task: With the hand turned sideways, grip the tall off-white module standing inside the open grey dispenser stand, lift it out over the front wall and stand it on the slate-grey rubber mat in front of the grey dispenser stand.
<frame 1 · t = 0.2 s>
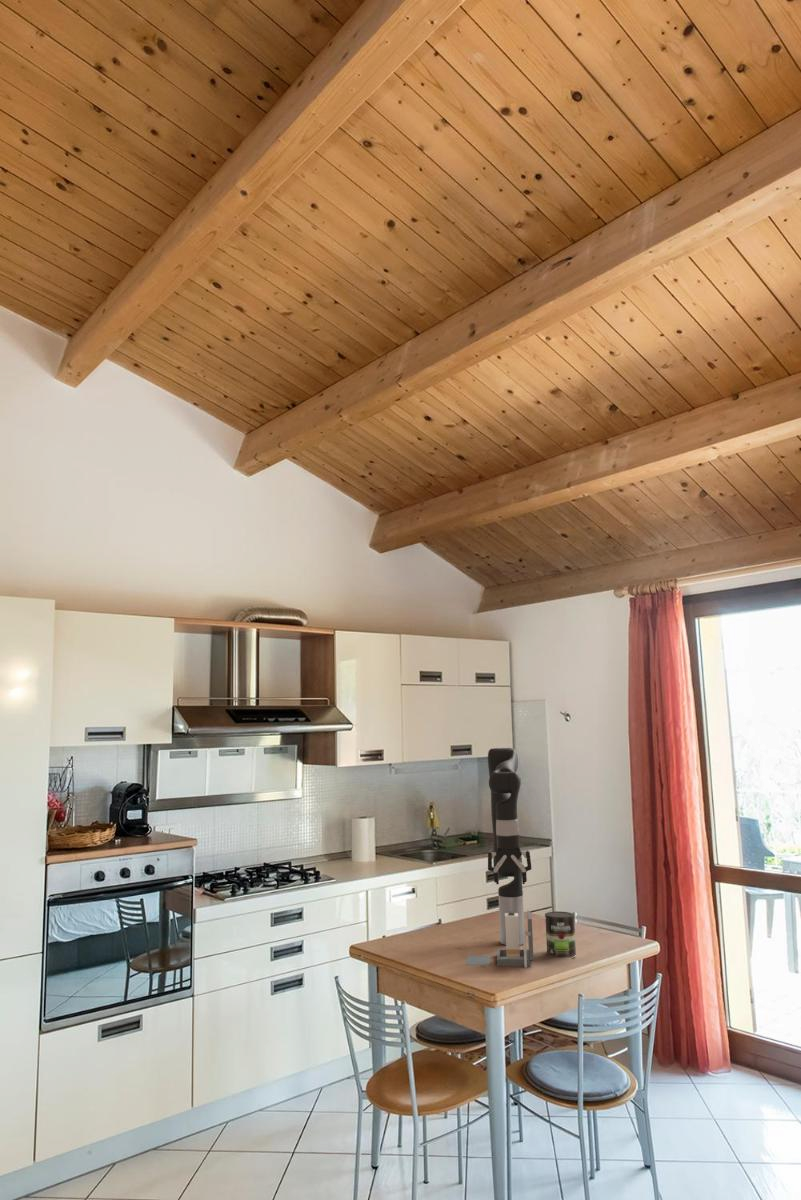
hand: (510, 883, 269), 29 cm above the table, tool pointing down, fingers open, 8 cm apart
coffee can: (561, 956, 288), on the table
mat: (478, 963, 281), on the table
grey dispenser stand: (513, 963, 280), on the table
module: (513, 960, 280), point 1 cm above the table, touching grey dispenser stand
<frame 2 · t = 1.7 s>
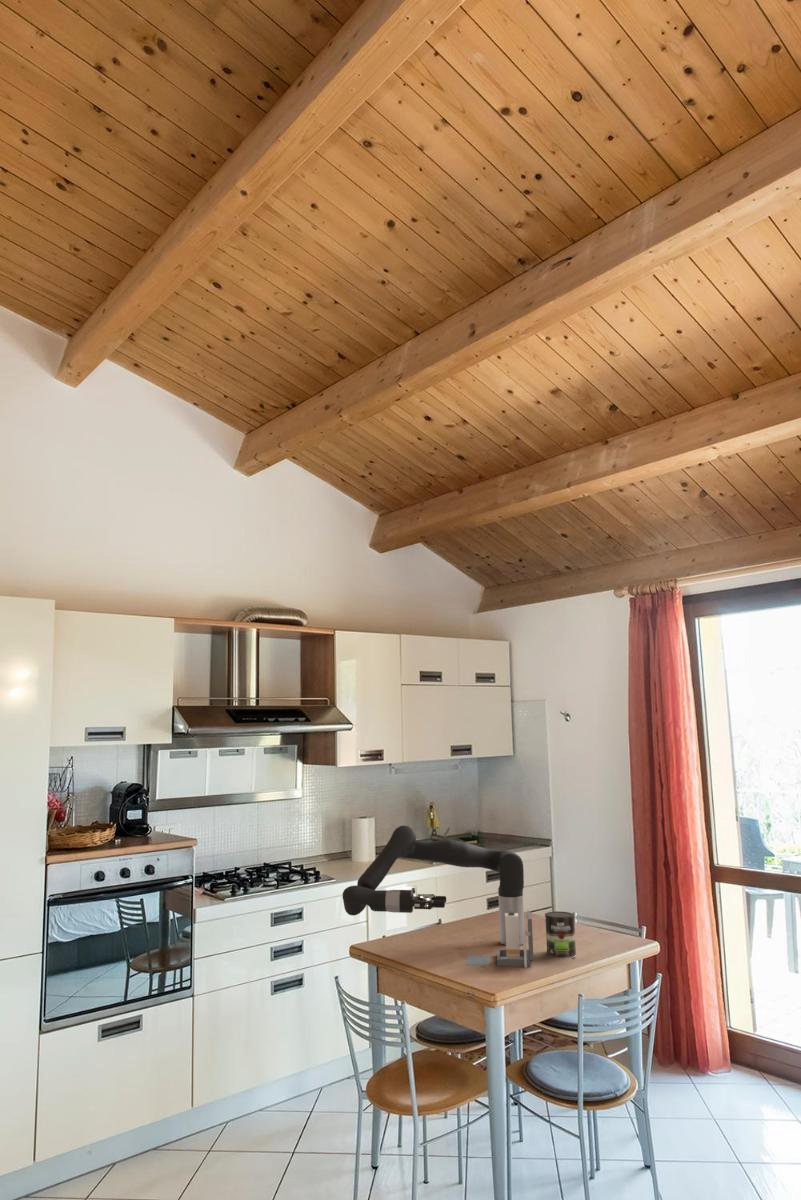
hand: (445, 901, 286), 20 cm above the table, tool horizontal, fingers open, 8 cm apart
nothing on the table moved.
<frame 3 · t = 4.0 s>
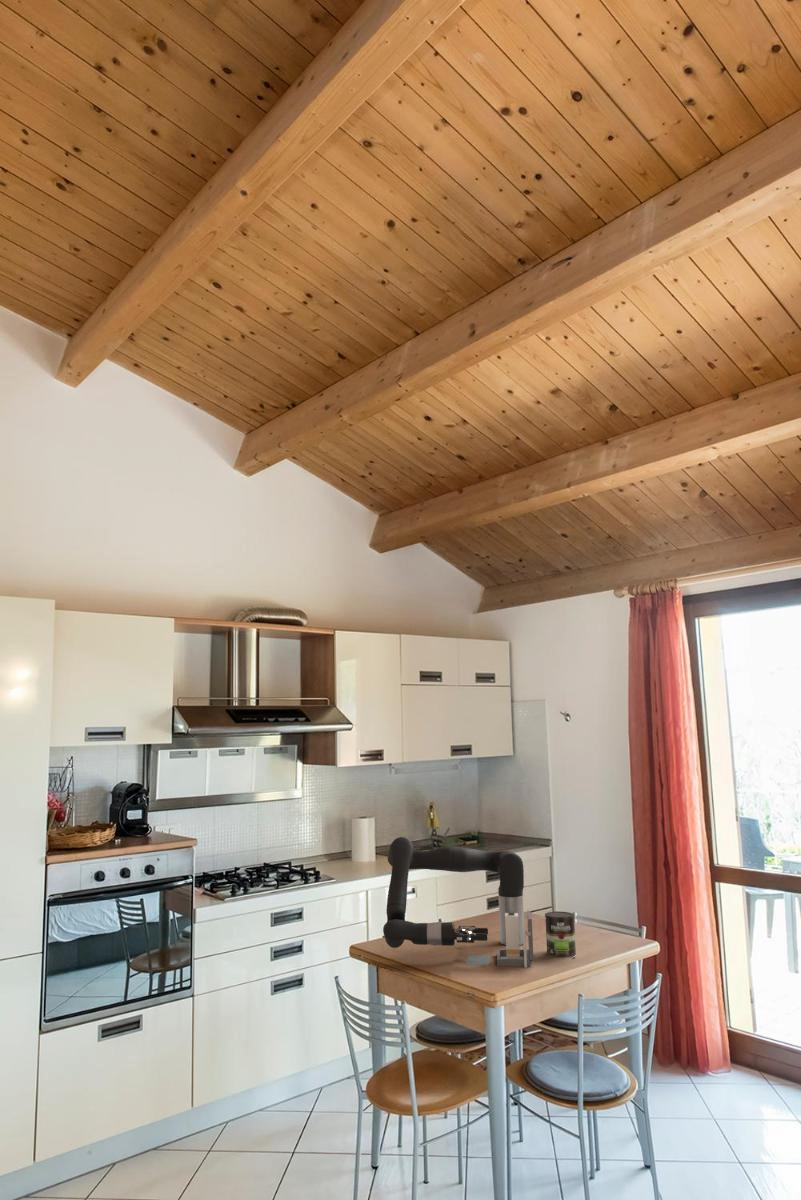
hand: (487, 934, 282), 10 cm above the table, tool horizontal, fingers open, 8 cm apart
nothing on the table moved.
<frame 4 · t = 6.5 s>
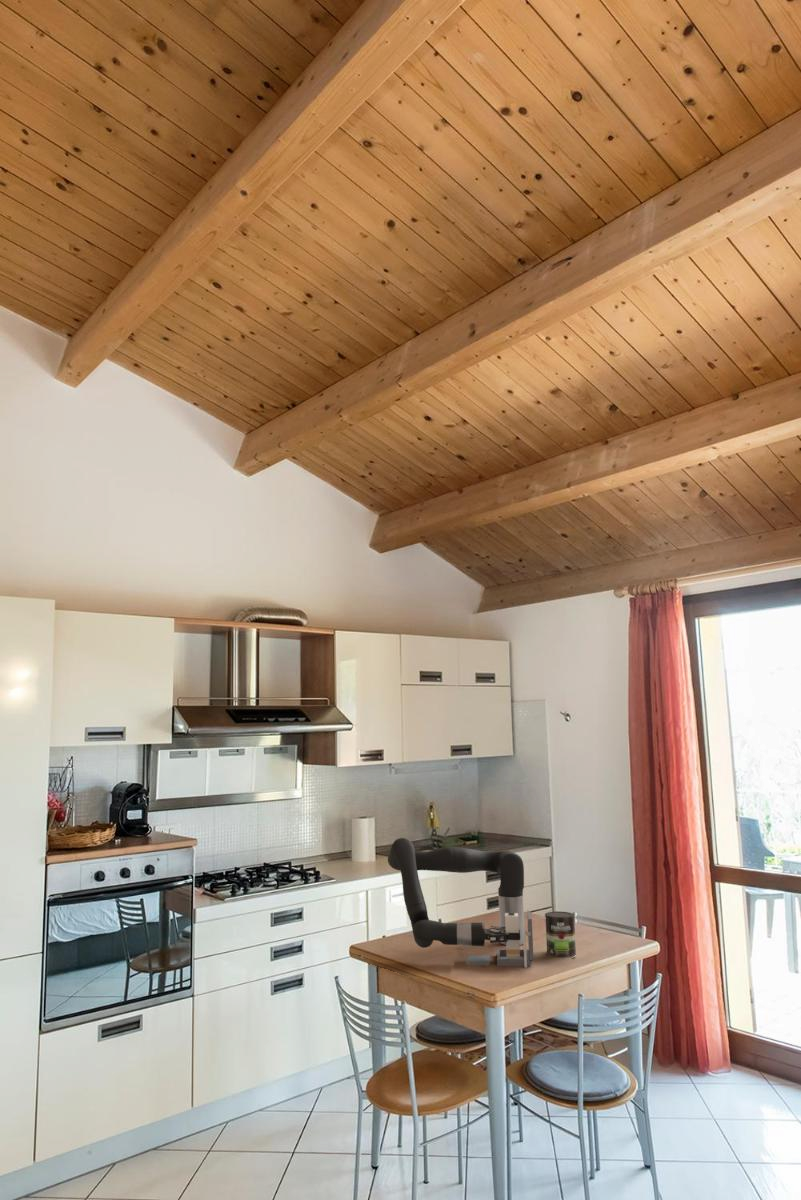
hand: (519, 934, 281), 9 cm above the table, tool horizontal, fingers closed on module, 5 cm apart
module: (513, 960, 280), point 1 cm above the table, touching grey dispenser stand, gripper
everything else where it was.
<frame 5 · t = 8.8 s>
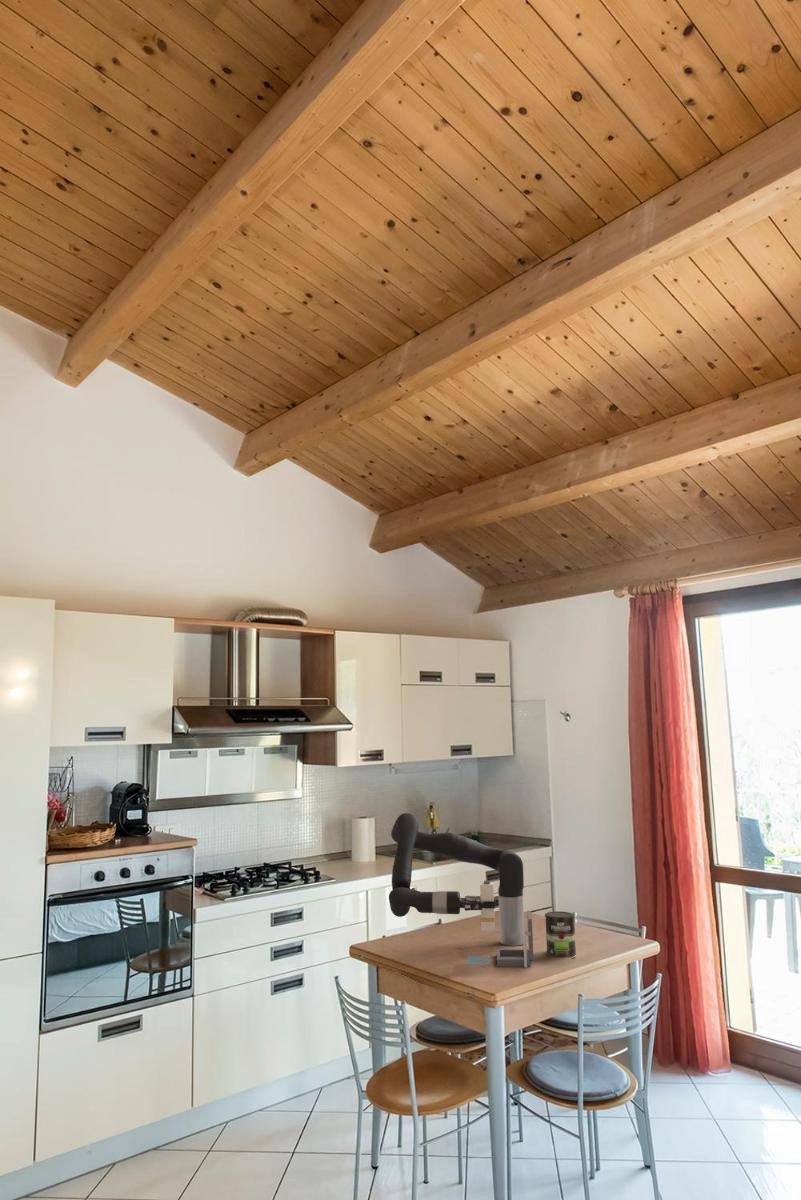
hand: (494, 903, 284), 20 cm above the table, tool horizontal, fingers closed on module, 5 cm apart
module: (488, 928, 282), point 11 cm above the table, touching gripper
everything else where it was.
when the fingers open (10 cm above the table, at t = 11.4 s): module stays where it is, resting on mat.
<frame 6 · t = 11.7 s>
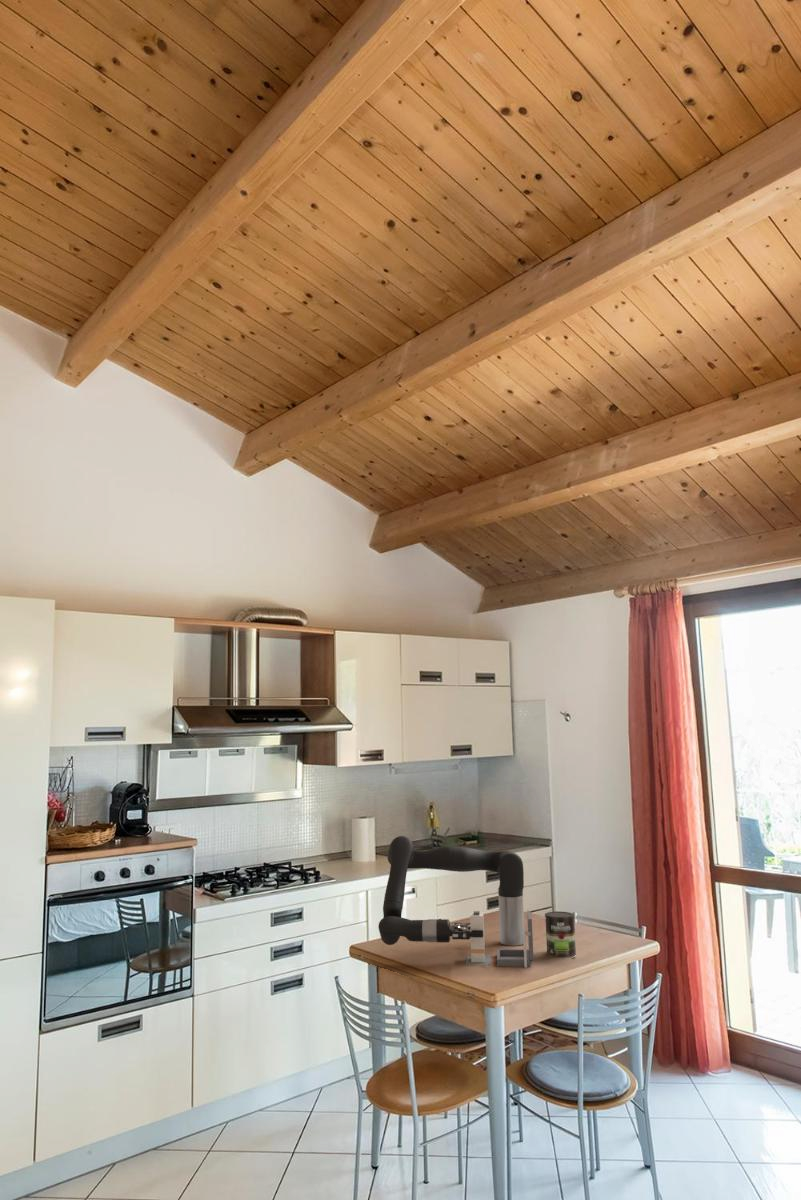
hand: (483, 931, 283), 10 cm above the table, tool horizontal, fingers open, 7 cm apart
module: (478, 960, 281), point 1 cm above the table, touching mat
everything else where it was.
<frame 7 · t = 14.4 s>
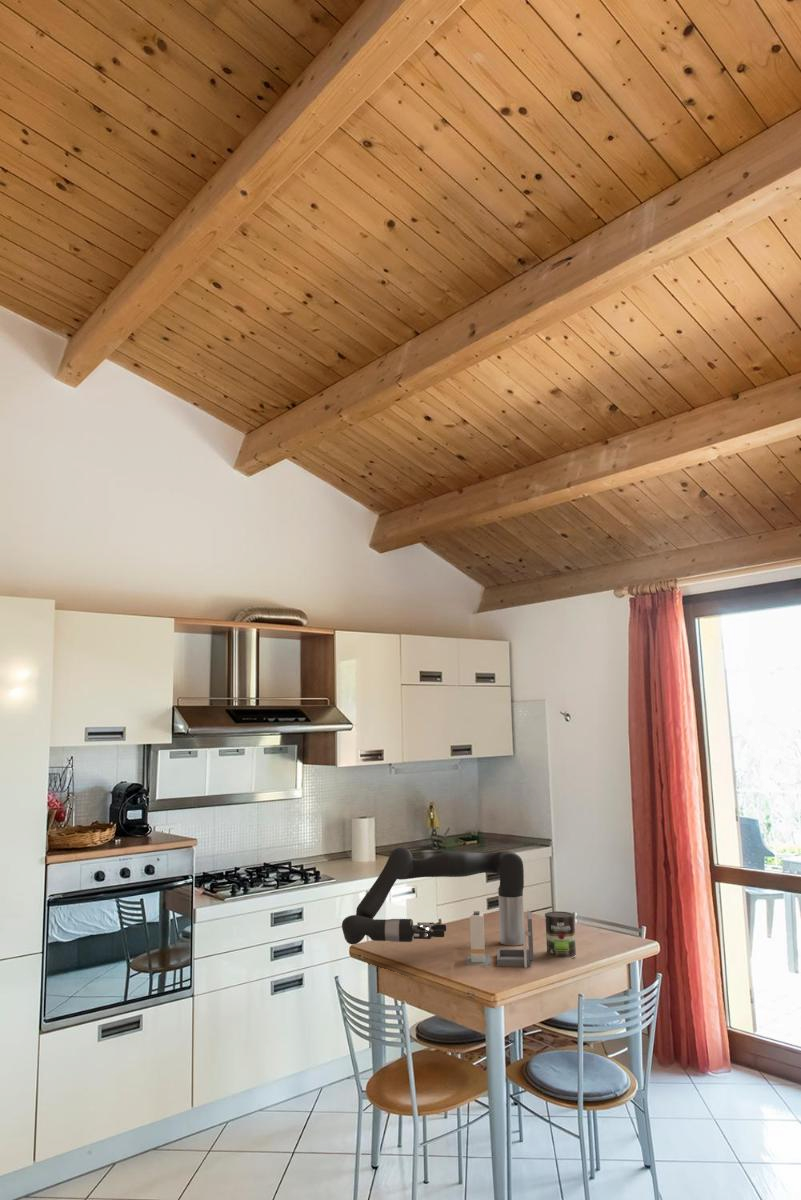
hand: (445, 930, 284), 11 cm above the table, tool horizontal, fingers open, 8 cm apart
nothing on the table moved.
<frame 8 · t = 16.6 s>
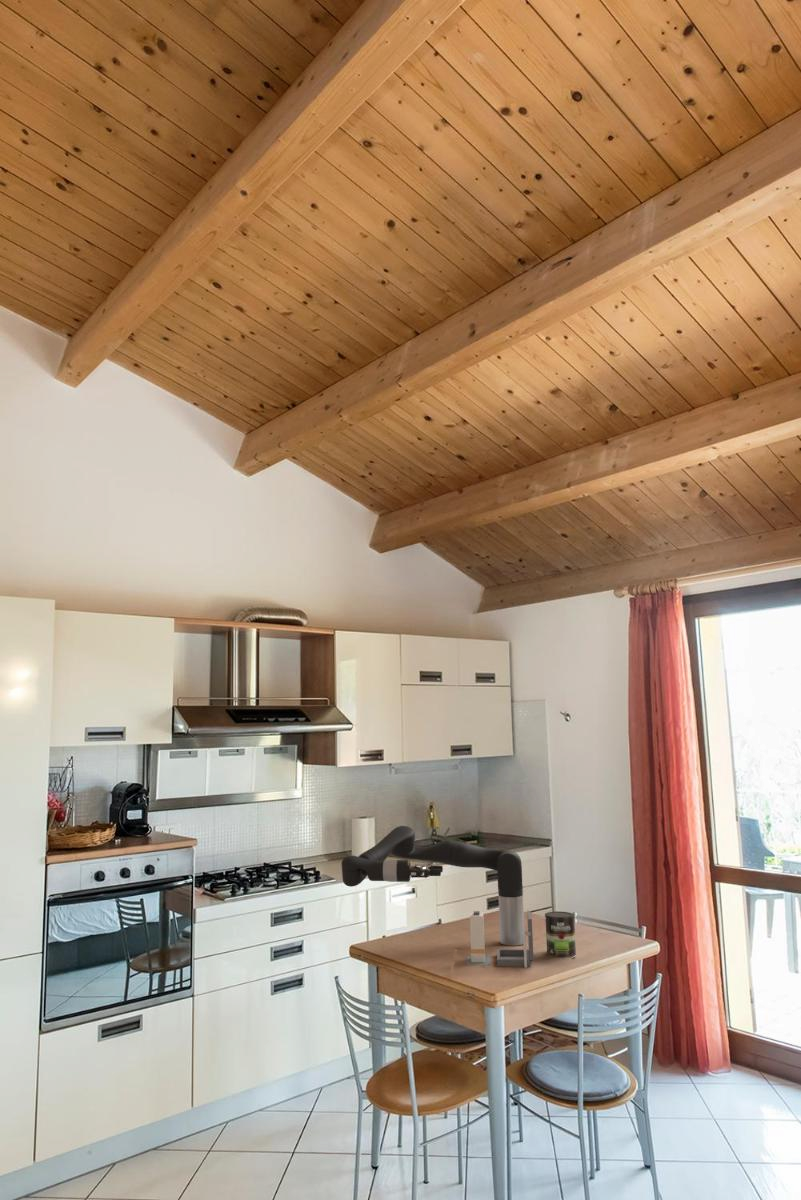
hand: (441, 870, 292), 30 cm above the table, tool horizontal, fingers open, 8 cm apart
nothing on the table moved.
at the end: module 0.0 cm off-centre on the mat, point 1.0 cm above the mat's base; module tilted 0°; the gripper is holding nothing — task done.
